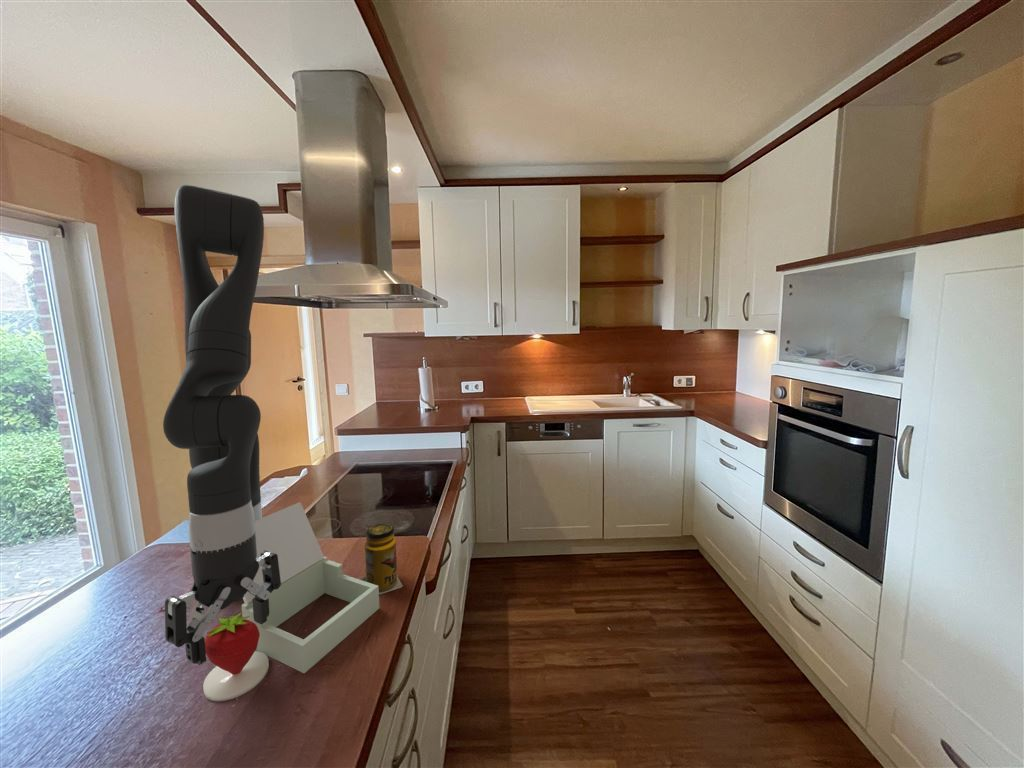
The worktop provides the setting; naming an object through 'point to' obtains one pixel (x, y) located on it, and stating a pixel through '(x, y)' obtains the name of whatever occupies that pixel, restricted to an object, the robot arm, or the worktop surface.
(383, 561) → the condiment
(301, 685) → the worktop surface
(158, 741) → the worktop surface
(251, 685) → the cream white rounded part
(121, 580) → the worktop surface
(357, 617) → the cold frame
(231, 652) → the strawberry
